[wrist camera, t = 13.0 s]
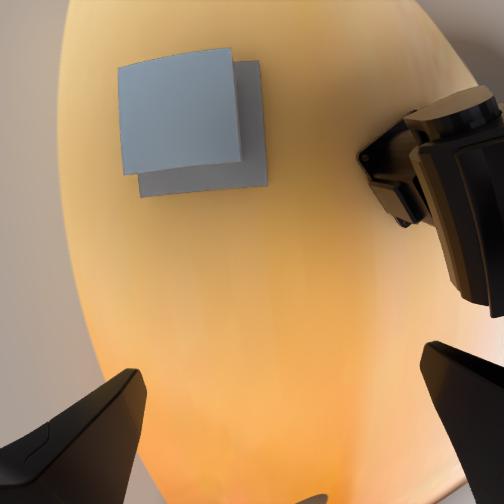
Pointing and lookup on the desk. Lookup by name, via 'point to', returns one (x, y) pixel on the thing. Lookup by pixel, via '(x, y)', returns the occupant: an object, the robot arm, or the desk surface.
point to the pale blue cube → (179, 112)
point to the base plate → (223, 174)
